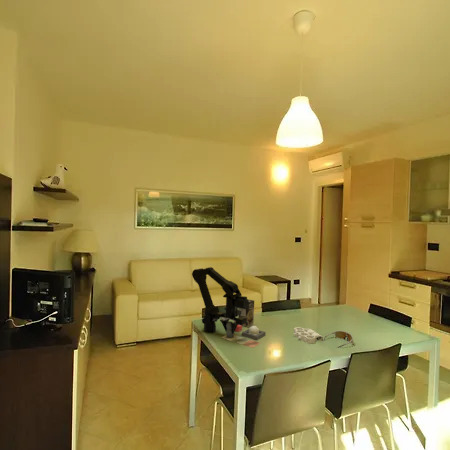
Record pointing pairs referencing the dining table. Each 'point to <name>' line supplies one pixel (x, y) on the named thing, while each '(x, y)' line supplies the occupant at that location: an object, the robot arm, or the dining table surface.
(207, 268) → the robot arm
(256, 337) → the base
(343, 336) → the sunglasses
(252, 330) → the cream cylinder
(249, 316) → the coffee box
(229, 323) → the pawn
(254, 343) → the game board
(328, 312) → the dining table surface
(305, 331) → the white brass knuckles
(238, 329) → the red die
